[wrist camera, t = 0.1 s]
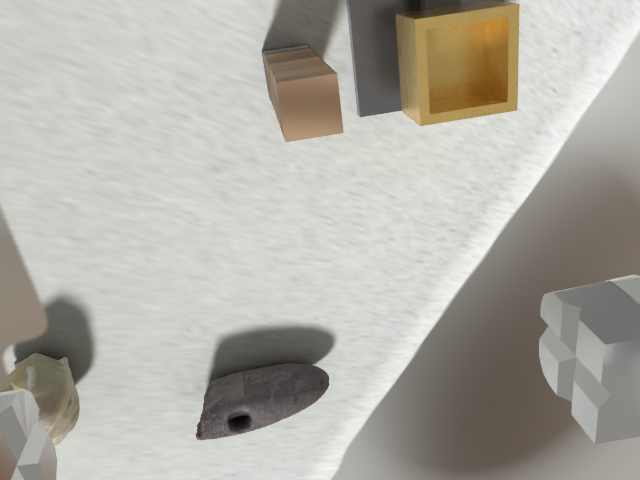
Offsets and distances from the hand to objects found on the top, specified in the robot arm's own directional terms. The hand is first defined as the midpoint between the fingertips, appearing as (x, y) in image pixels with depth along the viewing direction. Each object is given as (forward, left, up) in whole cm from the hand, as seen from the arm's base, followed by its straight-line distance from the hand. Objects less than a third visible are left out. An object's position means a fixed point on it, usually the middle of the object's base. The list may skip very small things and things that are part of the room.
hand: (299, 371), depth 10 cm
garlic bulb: (+31, -26, -48) cm, 63 cm away
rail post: (+3, +4, -48) cm, 48 cm away
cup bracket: (-1, +17, -48) cm, 51 cm away
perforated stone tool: (+36, -4, -48) cm, 60 cm away
